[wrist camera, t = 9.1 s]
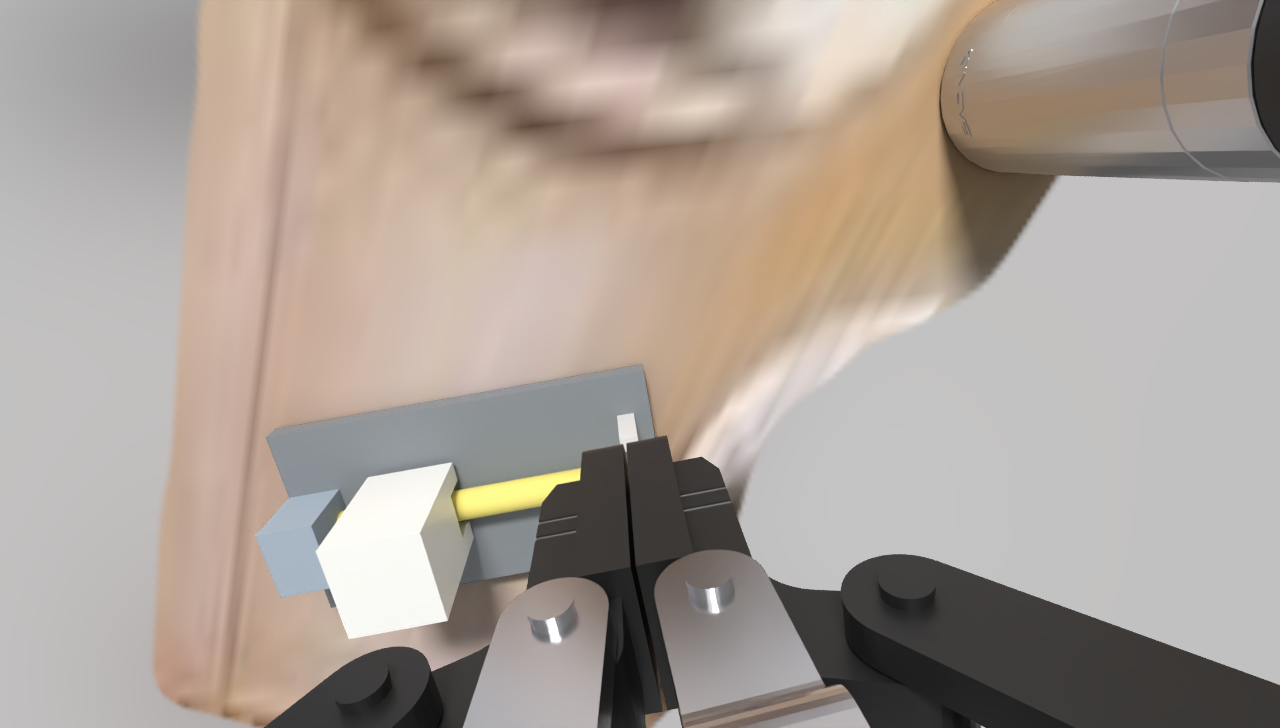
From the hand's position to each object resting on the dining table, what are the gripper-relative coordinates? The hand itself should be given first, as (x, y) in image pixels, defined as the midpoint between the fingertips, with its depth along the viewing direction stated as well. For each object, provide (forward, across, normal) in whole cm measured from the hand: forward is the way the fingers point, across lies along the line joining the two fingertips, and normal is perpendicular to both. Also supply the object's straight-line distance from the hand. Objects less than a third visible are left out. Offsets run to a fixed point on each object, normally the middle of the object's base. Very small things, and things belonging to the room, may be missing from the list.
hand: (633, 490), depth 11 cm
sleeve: (+24, +14, +12) cm, 30 cm away
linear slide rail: (+26, +11, +12) cm, 30 cm away
